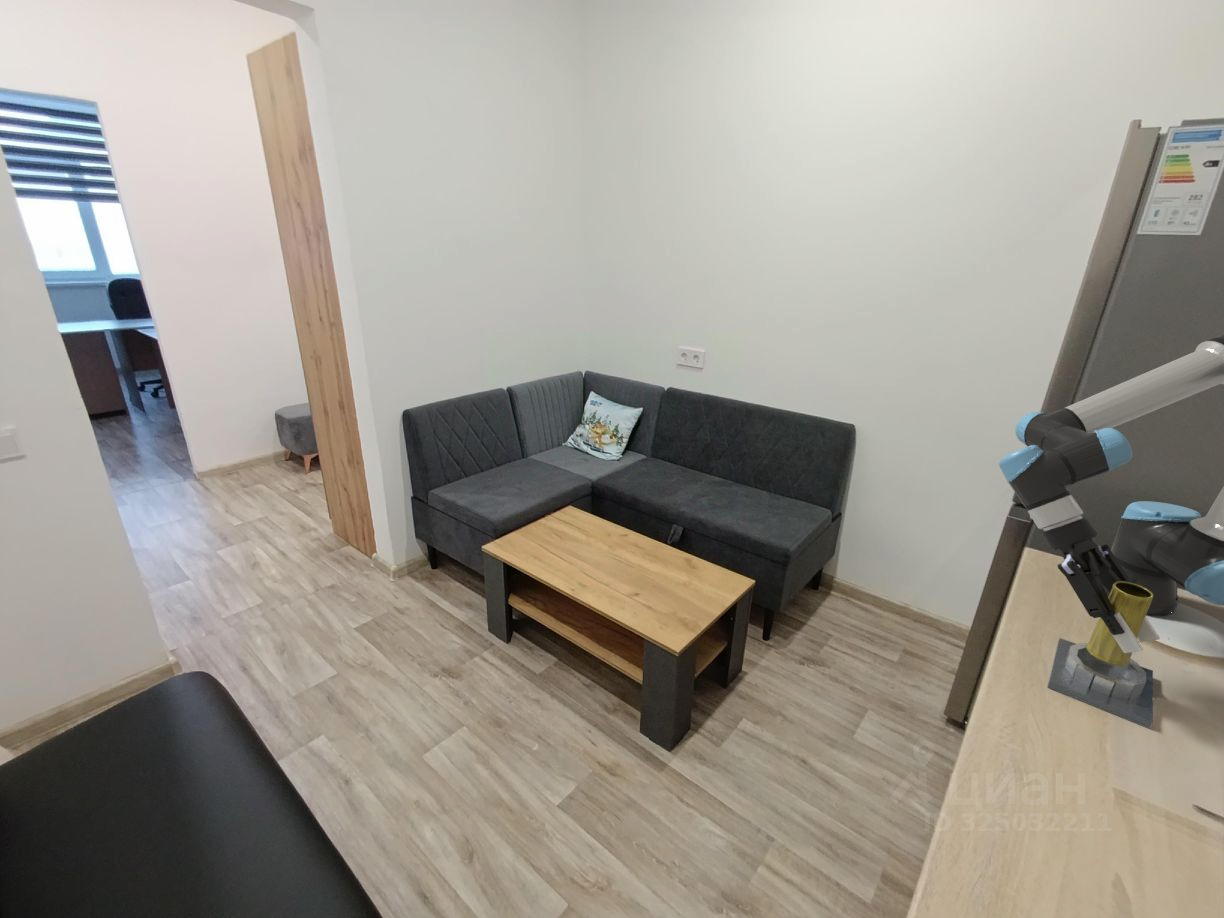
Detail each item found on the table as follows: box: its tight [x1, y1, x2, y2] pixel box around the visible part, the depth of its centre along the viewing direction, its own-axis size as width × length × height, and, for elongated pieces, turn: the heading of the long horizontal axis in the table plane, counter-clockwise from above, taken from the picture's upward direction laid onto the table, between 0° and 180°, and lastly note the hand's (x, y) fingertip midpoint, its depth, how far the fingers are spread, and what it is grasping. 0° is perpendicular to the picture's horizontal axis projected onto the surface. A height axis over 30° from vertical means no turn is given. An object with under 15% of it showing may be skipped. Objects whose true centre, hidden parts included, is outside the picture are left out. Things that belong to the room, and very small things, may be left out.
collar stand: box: [1047, 638, 1154, 729], centre depth 102 cm, size 16×14×4 cm
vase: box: [1086, 581, 1153, 666], centre depth 98 cm, size 6×6×14 cm
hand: (1142, 645), depth 96 cm, fingers closed on vase, 5 cm apart
